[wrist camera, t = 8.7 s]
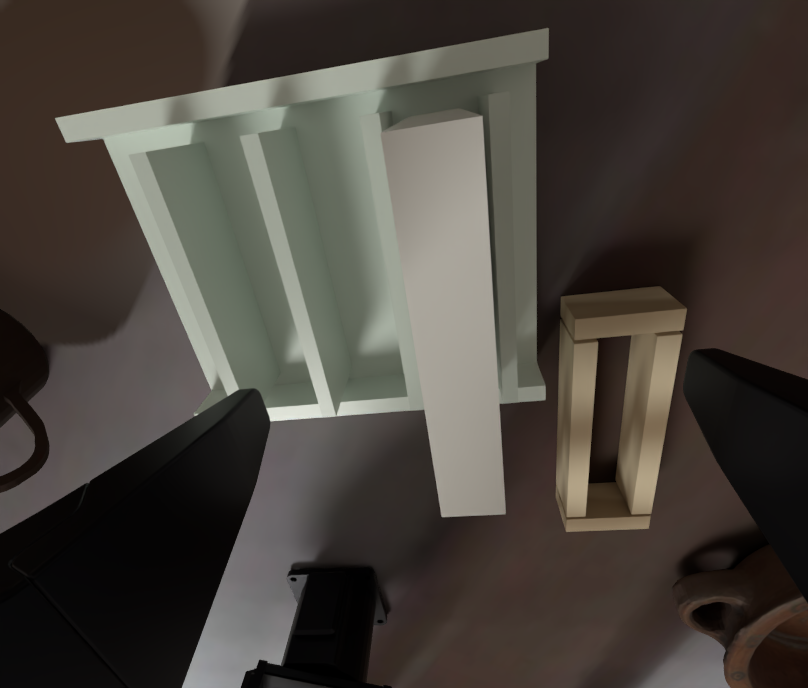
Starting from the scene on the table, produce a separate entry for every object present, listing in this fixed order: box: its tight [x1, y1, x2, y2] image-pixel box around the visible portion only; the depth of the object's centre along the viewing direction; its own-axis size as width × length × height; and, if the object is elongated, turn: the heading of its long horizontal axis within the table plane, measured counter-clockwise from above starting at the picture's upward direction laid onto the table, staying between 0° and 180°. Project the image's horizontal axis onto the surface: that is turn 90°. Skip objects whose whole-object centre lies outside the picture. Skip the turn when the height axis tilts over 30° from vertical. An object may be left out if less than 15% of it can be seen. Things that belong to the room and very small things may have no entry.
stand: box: [556, 286, 687, 532], centre depth 22 cm, size 13×4×2 cm, turn 9°
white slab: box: [380, 108, 506, 517], centre depth 14 cm, size 10×2×10 cm, turn 9°
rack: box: [55, 28, 549, 421], centre depth 18 cm, size 14×17×5 cm
